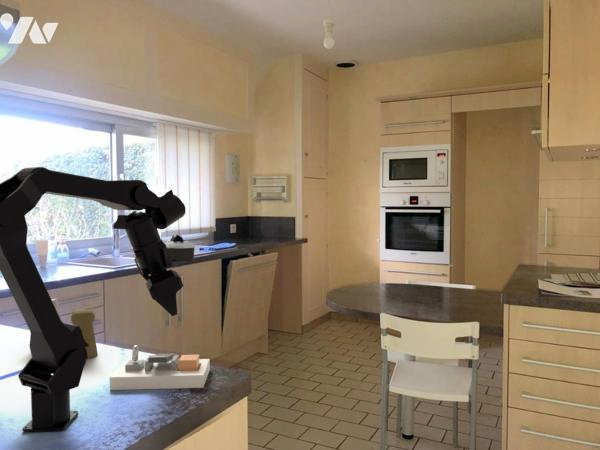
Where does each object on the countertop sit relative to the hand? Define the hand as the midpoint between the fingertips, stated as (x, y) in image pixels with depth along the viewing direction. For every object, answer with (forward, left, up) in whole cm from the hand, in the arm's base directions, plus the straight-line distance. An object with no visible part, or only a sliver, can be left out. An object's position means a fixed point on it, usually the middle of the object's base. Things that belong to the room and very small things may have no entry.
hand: (169, 305), depth 104 cm
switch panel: (-3, +1, -15) cm, 15 cm away
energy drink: (+22, +35, -15) cm, 44 cm away
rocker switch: (-3, +1, -10) cm, 11 cm away
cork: (+14, +23, -15) cm, 31 cm away
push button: (-3, -4, -13) cm, 14 cm away
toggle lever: (-3, +7, -11) cm, 13 cm away
